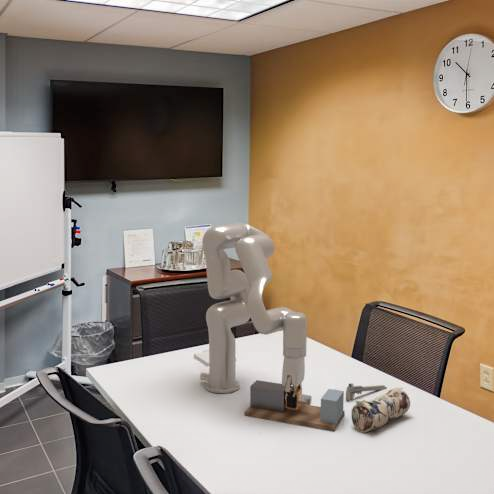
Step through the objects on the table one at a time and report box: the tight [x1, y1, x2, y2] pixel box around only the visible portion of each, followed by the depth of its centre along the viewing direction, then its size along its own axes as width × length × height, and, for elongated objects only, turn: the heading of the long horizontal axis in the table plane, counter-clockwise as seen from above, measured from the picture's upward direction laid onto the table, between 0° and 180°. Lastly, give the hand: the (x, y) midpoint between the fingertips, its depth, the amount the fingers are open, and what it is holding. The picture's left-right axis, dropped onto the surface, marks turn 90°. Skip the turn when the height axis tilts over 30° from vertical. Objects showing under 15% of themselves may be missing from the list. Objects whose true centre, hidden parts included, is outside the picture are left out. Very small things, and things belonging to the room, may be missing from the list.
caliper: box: [345, 382, 388, 402], centre depth 221 cm, size 21×1×6 cm, turn 128°
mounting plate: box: [193, 349, 237, 368], centre depth 259 cm, size 18×13×2 cm
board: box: [244, 404, 346, 432], centre depth 204 cm, size 30×13×2 cm, turn 67°
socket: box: [320, 388, 345, 424], centre depth 199 cm, size 5×9×8 cm, turn 157°
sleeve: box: [249, 379, 288, 413], centre depth 207 cm, size 12×6×7 cm, turn 67°
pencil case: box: [351, 386, 411, 433], centre depth 198 cm, size 22×8×10 cm, turn 132°
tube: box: [285, 385, 313, 410], centre depth 205 cm, size 18×4×6 cm, turn 67°
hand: (293, 404), depth 204 cm, fingers closed on tube, 4 cm apart
